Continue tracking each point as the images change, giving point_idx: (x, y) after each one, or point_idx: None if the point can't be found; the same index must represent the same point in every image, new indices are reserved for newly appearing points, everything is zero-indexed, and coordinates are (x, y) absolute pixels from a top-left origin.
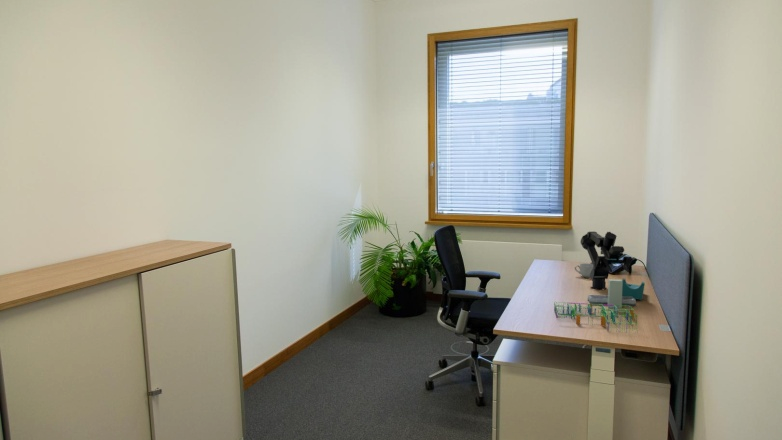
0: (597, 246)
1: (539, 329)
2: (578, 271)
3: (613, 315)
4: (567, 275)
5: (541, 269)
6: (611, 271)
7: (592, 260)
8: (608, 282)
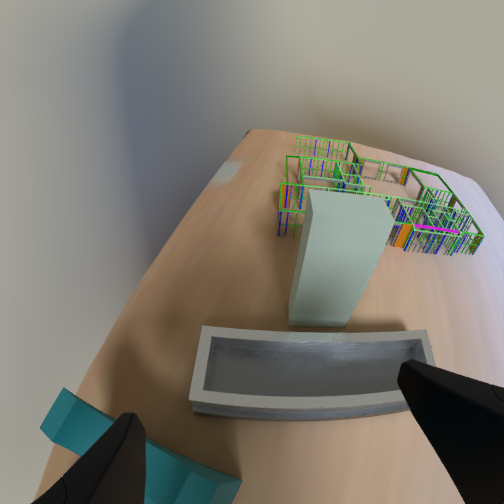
0: None
1: (439, 173)
2: None
3: (339, 162)
4: None
5: None
6: (406, 364)
7: None
8: (387, 237)
